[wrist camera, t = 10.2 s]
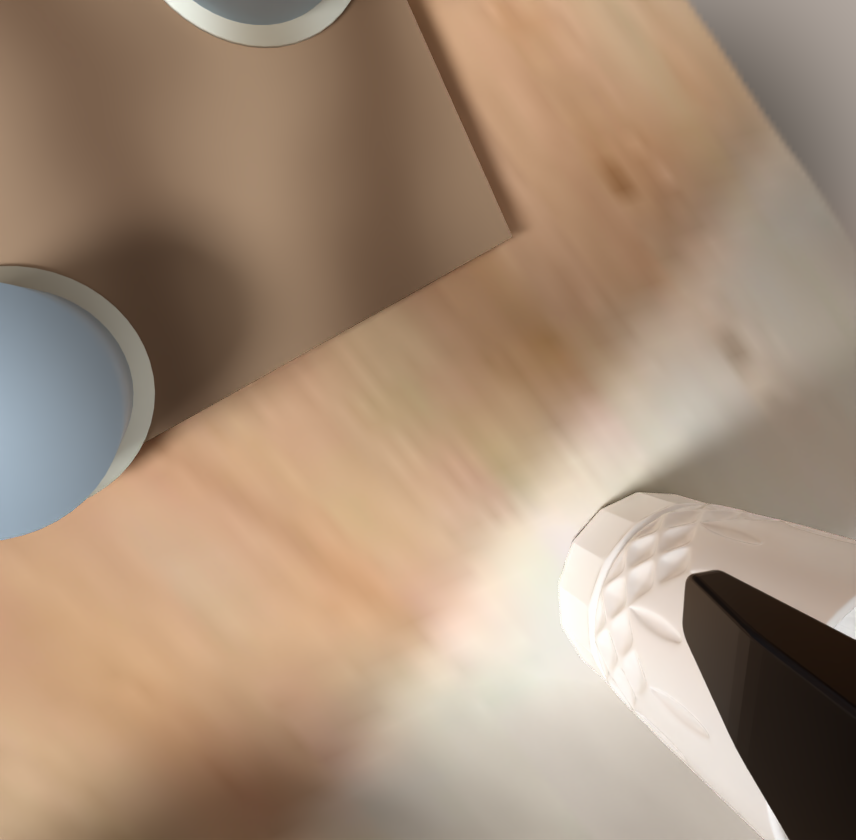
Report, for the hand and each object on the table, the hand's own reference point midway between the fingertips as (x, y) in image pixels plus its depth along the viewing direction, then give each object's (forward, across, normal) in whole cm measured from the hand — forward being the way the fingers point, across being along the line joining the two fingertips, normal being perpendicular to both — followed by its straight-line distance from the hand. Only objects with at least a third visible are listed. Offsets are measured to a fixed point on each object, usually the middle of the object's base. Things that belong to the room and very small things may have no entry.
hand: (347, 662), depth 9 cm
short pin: (+10, +7, 0) cm, 13 cm away
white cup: (+12, -9, +11) cm, 19 cm away
